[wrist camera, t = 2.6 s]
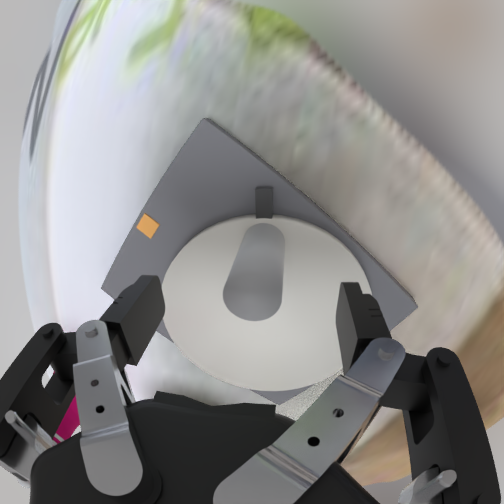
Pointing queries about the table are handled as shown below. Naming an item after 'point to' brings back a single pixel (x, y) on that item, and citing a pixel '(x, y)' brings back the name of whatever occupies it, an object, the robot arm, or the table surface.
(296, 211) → the dial base
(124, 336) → the robot arm
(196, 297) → the cam dial
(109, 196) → the table surface
